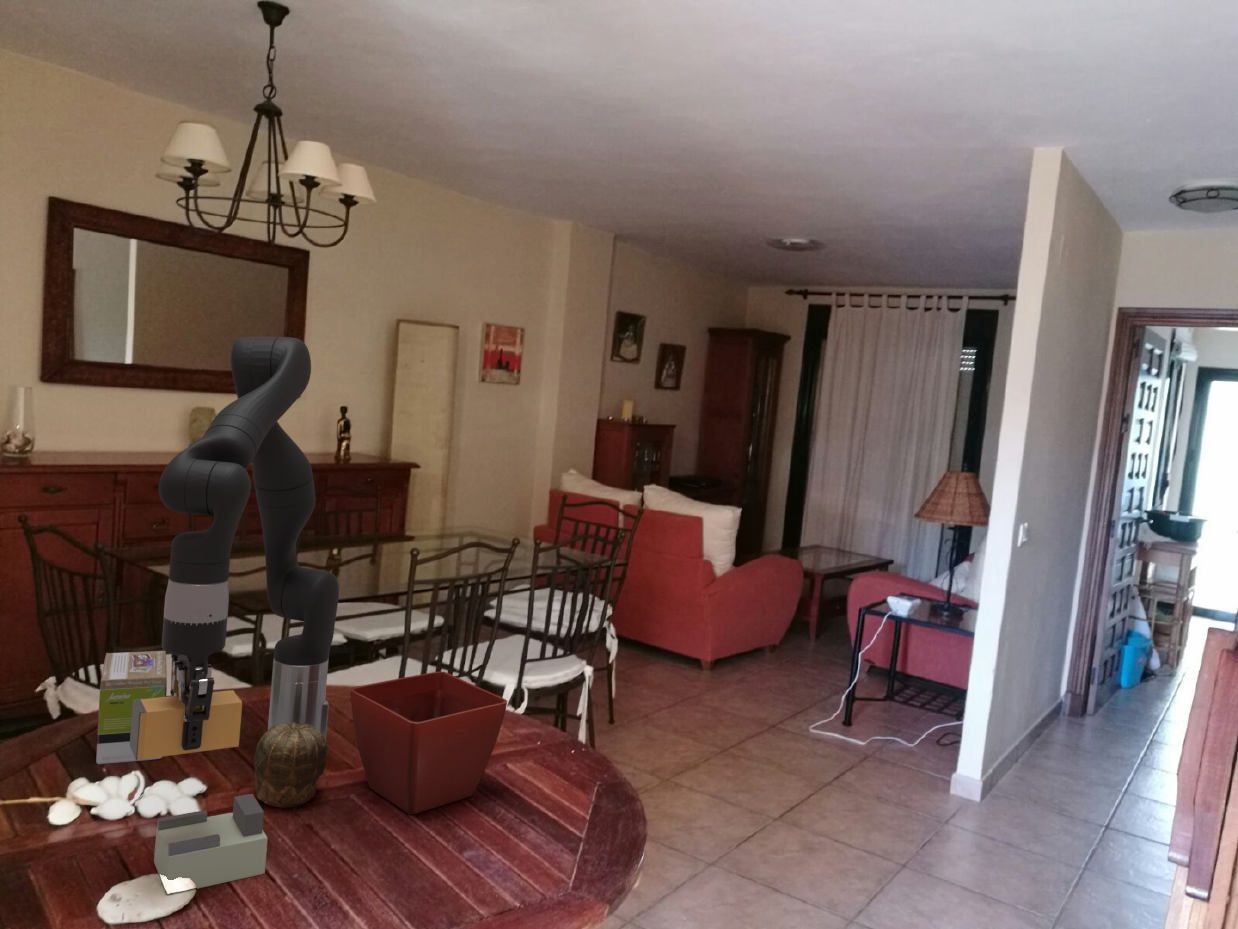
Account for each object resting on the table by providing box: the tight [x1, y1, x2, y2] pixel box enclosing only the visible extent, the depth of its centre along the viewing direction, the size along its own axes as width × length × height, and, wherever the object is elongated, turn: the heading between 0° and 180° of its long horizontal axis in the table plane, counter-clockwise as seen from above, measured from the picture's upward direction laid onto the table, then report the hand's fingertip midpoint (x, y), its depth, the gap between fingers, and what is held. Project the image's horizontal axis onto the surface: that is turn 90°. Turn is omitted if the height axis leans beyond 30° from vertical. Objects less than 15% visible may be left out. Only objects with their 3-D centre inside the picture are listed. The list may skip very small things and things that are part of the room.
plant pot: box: [349, 670, 508, 815], centre depth 149 cm, size 19×19×17 cm
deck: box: [153, 793, 268, 889], centre depth 120 cm, size 12×9×8 cm
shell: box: [253, 722, 328, 809], centre depth 142 cm, size 11×11×12 cm
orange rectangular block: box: [130, 689, 243, 760], centre depth 117 cm, size 12×5×6 cm, turn 126°
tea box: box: [95, 650, 168, 765], centre depth 155 cm, size 15×10×15 cm, turn 27°
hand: (186, 740), depth 117 cm, fingers closed on orange rectangular block, 5 cm apart
